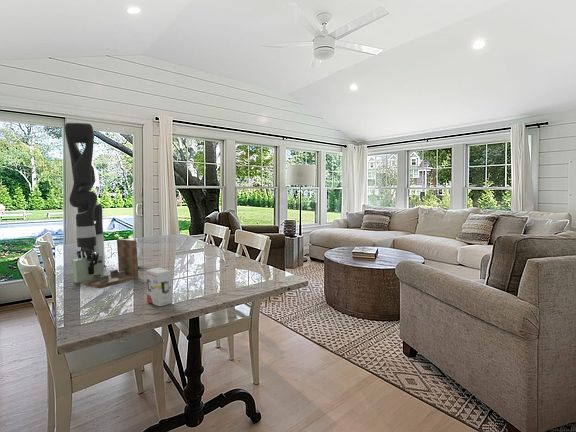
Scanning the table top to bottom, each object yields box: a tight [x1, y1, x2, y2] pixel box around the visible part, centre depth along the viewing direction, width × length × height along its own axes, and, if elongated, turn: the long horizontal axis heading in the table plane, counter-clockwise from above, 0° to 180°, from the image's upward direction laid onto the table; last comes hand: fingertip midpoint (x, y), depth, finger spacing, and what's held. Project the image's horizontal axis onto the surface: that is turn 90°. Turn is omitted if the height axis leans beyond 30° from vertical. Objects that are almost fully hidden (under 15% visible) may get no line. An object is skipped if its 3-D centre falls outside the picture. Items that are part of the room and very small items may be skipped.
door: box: [72, 255, 105, 284], centre depth 153 cm, size 3×12×10 cm, turn 151°
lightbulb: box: [137, 245, 141, 259], centre depth 178 cm, size 6×6×11 cm
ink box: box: [146, 267, 172, 307], centre depth 120 cm, size 9×5×12 cm, turn 50°
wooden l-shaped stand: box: [83, 238, 139, 289], centre depth 150 cm, size 12×18×17 cm, turn 150°
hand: (89, 273), depth 154 cm, fingers open, 3 cm apart
